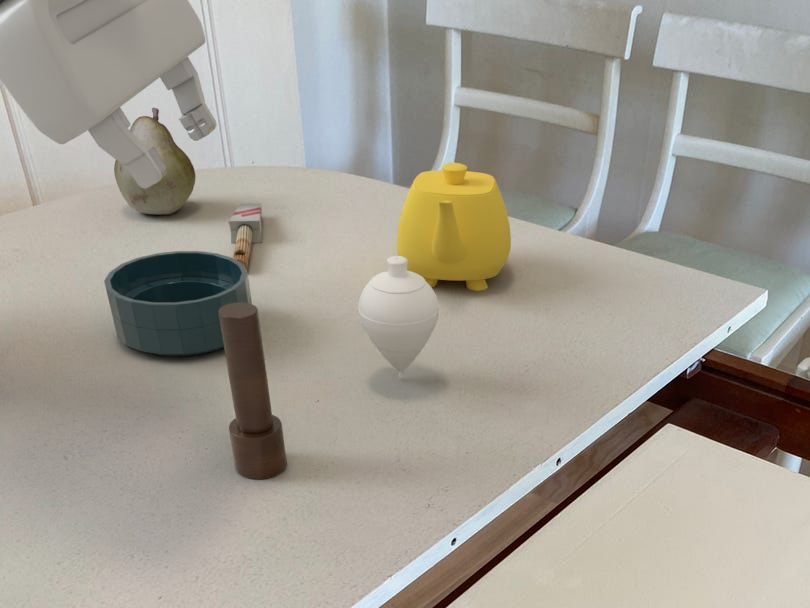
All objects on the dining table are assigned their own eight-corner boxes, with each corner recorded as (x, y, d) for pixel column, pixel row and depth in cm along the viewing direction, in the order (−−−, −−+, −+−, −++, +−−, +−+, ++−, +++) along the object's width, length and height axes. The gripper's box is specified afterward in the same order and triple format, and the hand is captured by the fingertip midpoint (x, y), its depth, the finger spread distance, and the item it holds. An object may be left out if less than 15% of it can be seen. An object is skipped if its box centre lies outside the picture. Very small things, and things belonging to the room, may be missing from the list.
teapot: (386, 309, 110) (380, 193, 101) (408, 244, 124) (405, 139, 116) (504, 315, 109) (509, 199, 101) (512, 249, 124) (517, 144, 116)
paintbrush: (264, 191, 129) (253, 255, 115) (267, 212, 131) (256, 277, 117) (234, 191, 129) (220, 255, 114) (237, 212, 131) (223, 277, 116)
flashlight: (232, 479, 83) (204, 321, 74) (239, 452, 86) (213, 298, 77) (284, 479, 83) (263, 322, 74) (289, 452, 86) (269, 298, 77)
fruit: (204, 199, 136) (189, 104, 128) (194, 223, 129) (177, 123, 121) (129, 199, 135) (109, 103, 127) (115, 222, 128) (93, 122, 120)
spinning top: (453, 387, 96) (453, 265, 88) (382, 404, 93) (376, 280, 85) (417, 355, 101) (415, 238, 93) (350, 371, 98) (341, 251, 90)
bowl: (104, 362, 98) (89, 304, 94) (134, 304, 109) (122, 250, 105) (245, 361, 99) (236, 304, 95) (261, 304, 110) (254, 251, 106)
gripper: (83, -67, 69) (200, 128, 77) (-79, 1, 54) (86, 232, 62) (149, -114, 66) (264, 92, 74) (-2, -56, 52) (160, 192, 60)
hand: (182, 157), depth 68 cm, fingers open, 8 cm apart
